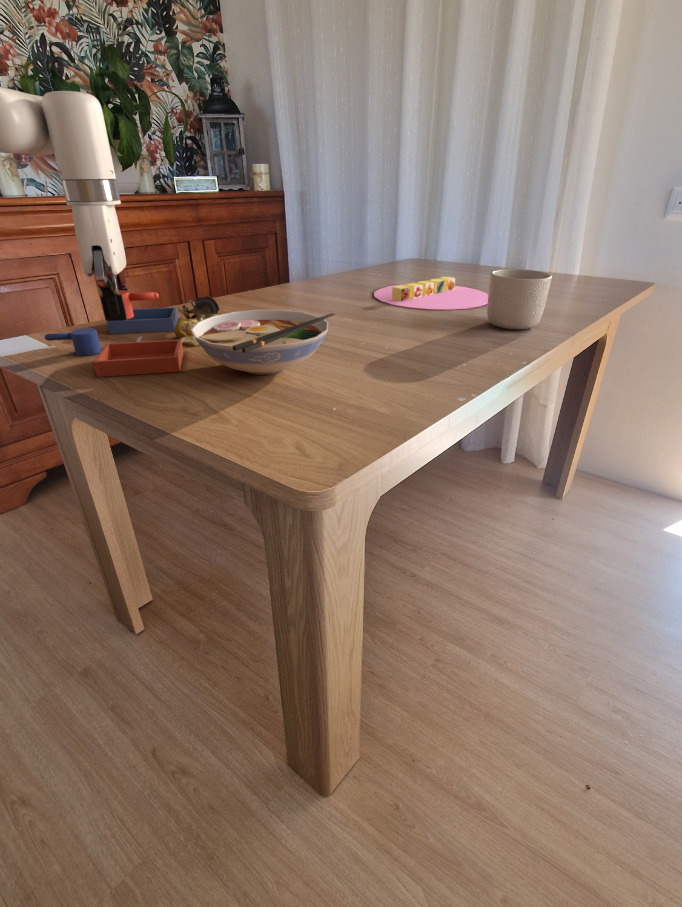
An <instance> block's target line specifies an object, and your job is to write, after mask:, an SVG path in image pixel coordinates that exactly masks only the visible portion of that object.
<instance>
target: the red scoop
mask: <svg viewBox="0 0 682 907" xmlns="http://www.w3.org/2000/svg"><path fill="white" fill-rule="evenodd" d="M119 295H122V297H123V302H124V307H125V311H126V316H127V319H130V318H133V317H134V314H133V309H134V308H133V304H132V302H137V301H138V302H139V301H157V300H159V298H160V295H159V293H157V292H155V291H154V292H153V291H152V292H130V291H129V290H128V291H126V290H119Z"/></svg>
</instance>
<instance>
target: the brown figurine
mask: <svg viewBox="0 0 682 907" xmlns="http://www.w3.org/2000/svg"><path fill="white" fill-rule="evenodd" d="M188 302H189V304H190V305H191V306H192V309H189V307H187V306H186V304H183V305H182V306H181V308H180V307H179V306H177V311H179V312H180V313H181V314H182V315H183V316H184V317H185V320H187V319H196V320H198V321H199V322H200V321H202V320H204V319H207V318H210V317H212V316H216V315H219V312H220V310H221V308H220V306H219V304H218V302H217V301H216V299H214V298H212V297H211V296H208V295H206V296H203V297H197V298H196V300H195V301H194V302H193V301H192V300H191V299H188ZM190 314H193V315H191V316H190Z"/></svg>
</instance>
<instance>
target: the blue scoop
mask: <svg viewBox="0 0 682 907" xmlns="http://www.w3.org/2000/svg"><path fill="white" fill-rule="evenodd" d="M44 340H46V341H49V342H50V341H69V340H72V341H71V342H72V345H73V348H74V353H75V355H76V356H79V357H87V356H94V355H97V354H99V353H100V352H101V350H102V348H101V343H100V338H99V335H98V332H97V328H94V327H83V328H77V329H73V330H71V331H70V332H58V333H57V332H56V333H46V334H44Z"/></svg>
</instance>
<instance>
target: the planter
mask: <svg viewBox="0 0 682 907" xmlns="http://www.w3.org/2000/svg"><path fill="white" fill-rule="evenodd" d="M552 278H553V276H552V274H550V273H548V272H544V271H540V270H533V269H522V268H521V269H519V268H515V269H514V268H507V269H506V268H504V269H496V270H493V271H491V272H490V277H489V285H488V293H487V294H488V303H487V304H486V306H487V307H486V308H487V309H486V314H487V319H488V322H490V323H491V325H493V326H495V327H497V328H501V329H505V330H512V331H513V330H515V331H521V330H522V331H523V330H528V329H533V328H534V327H536V326H537V325H538V324H539V323H540V321H541V319H542V318H543V314H544V311H545V307H546V303H547V299H548V297H549V296H548V295H549V291H550V287H551V282H552Z"/></svg>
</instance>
